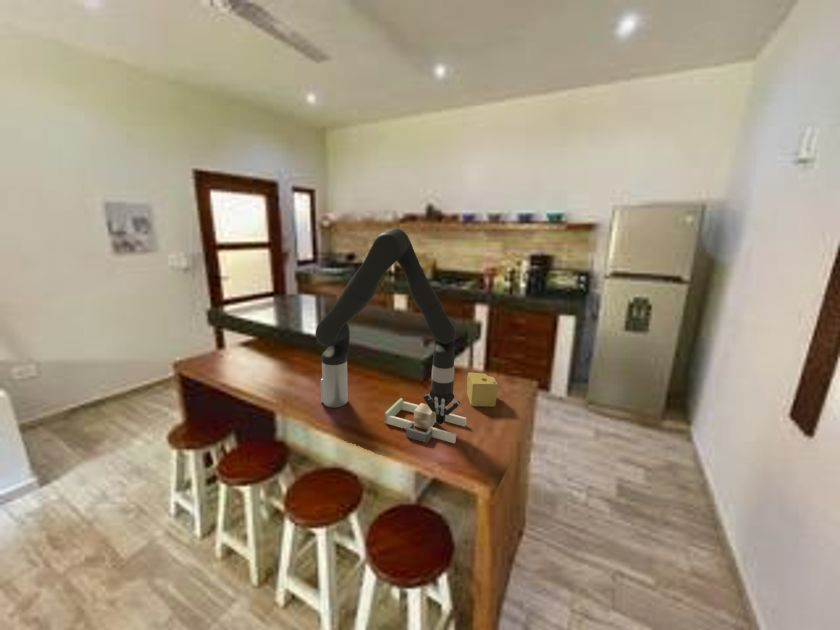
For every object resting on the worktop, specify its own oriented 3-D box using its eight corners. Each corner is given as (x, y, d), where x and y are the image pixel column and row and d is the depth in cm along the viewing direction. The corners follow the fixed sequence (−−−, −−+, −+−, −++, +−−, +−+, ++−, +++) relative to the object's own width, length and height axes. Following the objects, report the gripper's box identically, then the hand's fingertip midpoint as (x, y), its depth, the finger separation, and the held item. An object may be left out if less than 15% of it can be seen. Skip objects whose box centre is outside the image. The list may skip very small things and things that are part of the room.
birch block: (413, 425, 128) (413, 410, 126) (420, 417, 133) (421, 402, 132) (429, 430, 126) (430, 414, 124) (435, 421, 131) (436, 406, 129)
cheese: (490, 394, 153) (492, 372, 150) (496, 407, 142) (498, 384, 140) (465, 394, 152) (467, 372, 150) (469, 407, 142) (471, 383, 139)
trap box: (378, 428, 125) (379, 418, 124) (404, 402, 143) (405, 393, 142) (450, 450, 116) (451, 439, 114) (469, 419, 133) (469, 409, 132)
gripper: (420, 377, 121) (418, 423, 126) (458, 385, 116) (455, 433, 121) (428, 369, 128) (427, 413, 133) (465, 376, 123) (462, 422, 127)
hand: (440, 423), depth 127 cm, fingers closed
